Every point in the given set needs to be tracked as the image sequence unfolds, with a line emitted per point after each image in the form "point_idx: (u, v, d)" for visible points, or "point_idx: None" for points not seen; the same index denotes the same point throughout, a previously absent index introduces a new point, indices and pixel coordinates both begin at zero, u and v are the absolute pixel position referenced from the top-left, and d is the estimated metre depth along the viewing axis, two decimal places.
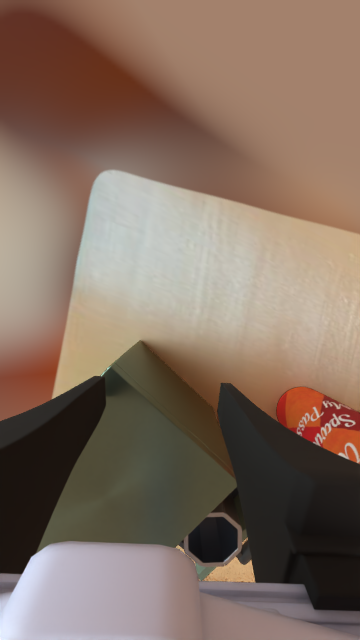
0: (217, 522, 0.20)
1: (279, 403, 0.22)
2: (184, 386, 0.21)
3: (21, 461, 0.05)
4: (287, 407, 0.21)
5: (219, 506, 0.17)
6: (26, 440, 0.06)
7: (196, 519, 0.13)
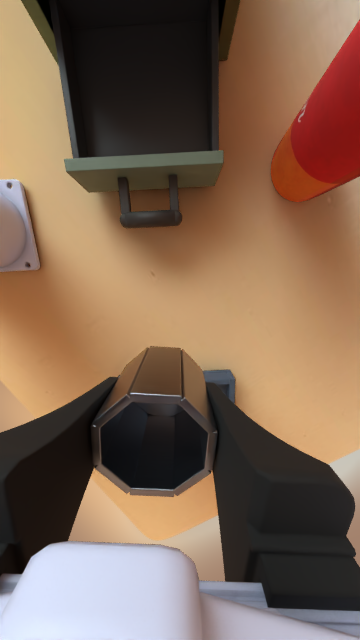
0: (147, 432, 0.11)
1: None
2: None
3: (52, 462, 0.05)
4: None
5: (210, 415, 0.08)
6: (57, 441, 0.06)
7: None
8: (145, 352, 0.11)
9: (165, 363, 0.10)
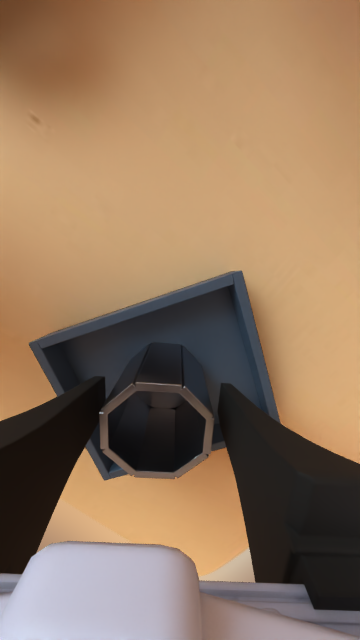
0: (149, 423, 0.12)
1: None
2: None
3: (21, 461, 0.05)
4: None
5: (208, 404, 0.09)
6: (26, 440, 0.06)
7: None
8: (147, 348, 0.12)
9: (167, 357, 0.11)
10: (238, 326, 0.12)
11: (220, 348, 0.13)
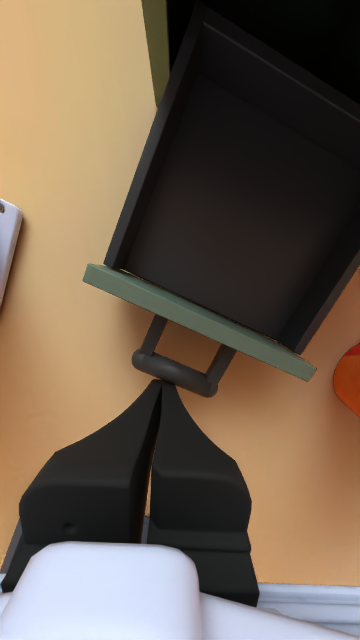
0: None
1: None
2: None
3: (141, 466, 0.05)
4: None
5: None
6: (142, 446, 0.06)
7: None
8: None
9: None
10: None
11: None
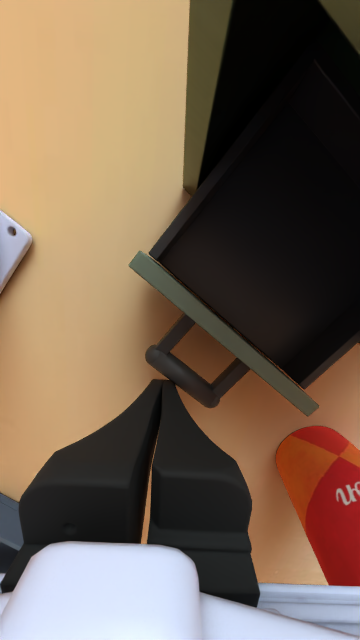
0: None
1: (330, 430, 0.15)
2: None
3: (140, 466, 0.06)
4: (355, 448, 0.13)
5: None
6: (142, 446, 0.06)
7: None
8: None
9: None
10: None
11: None
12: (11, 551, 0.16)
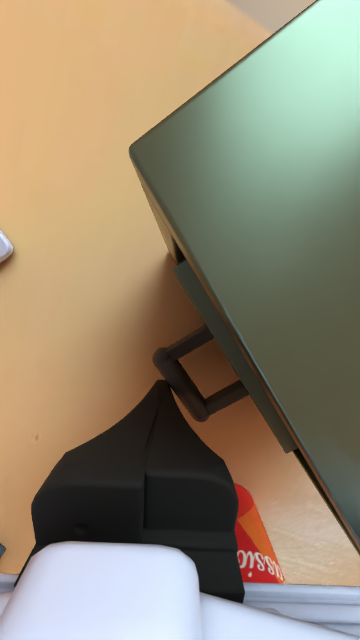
0: None
1: (242, 490, 0.16)
2: None
3: None
4: (254, 514, 0.15)
5: None
6: None
7: None
8: None
9: None
10: None
11: None
12: None
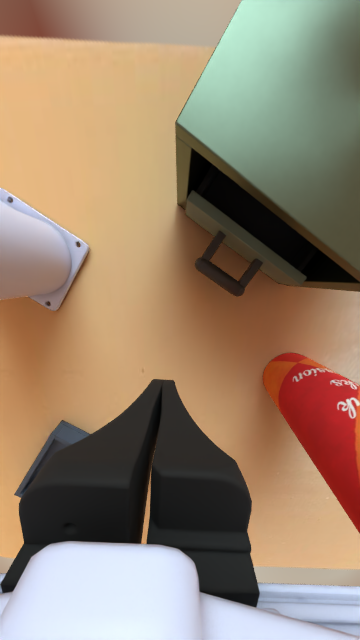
0: None
1: (297, 354, 0.21)
2: None
3: (141, 466, 0.05)
4: (310, 359, 0.20)
5: None
6: (142, 446, 0.06)
7: (341, 245, 0.10)
8: None
9: None
10: None
11: None
12: None
